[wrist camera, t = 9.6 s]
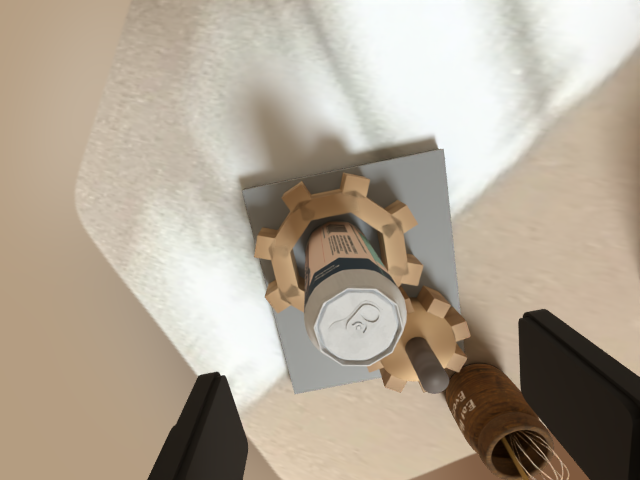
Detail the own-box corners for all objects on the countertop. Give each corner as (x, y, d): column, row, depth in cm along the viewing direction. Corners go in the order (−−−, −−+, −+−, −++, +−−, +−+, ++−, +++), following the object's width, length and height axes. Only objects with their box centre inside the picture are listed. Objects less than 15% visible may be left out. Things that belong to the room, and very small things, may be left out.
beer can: (293, 254, 27) (281, 338, 15) (331, 206, 26) (351, 255, 14) (341, 289, 27) (365, 393, 16) (379, 244, 27) (435, 319, 15)
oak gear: (245, 192, 25) (238, 197, 23) (400, 160, 25) (410, 161, 23) (280, 331, 28) (278, 348, 26) (420, 303, 28) (430, 318, 26)
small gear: (344, 305, 28) (354, 351, 22) (441, 270, 27) (480, 306, 21) (377, 385, 30) (395, 449, 24) (467, 354, 29) (510, 409, 23)
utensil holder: (502, 352, 31) (620, 477, 19) (511, 409, 32) (624, 556, 21) (437, 369, 31) (515, 502, 19) (449, 424, 32) (527, 578, 21)
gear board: (244, 189, 26) (241, 190, 25) (438, 149, 26) (443, 148, 25) (295, 386, 31) (294, 394, 30) (460, 354, 30) (465, 361, 30)
